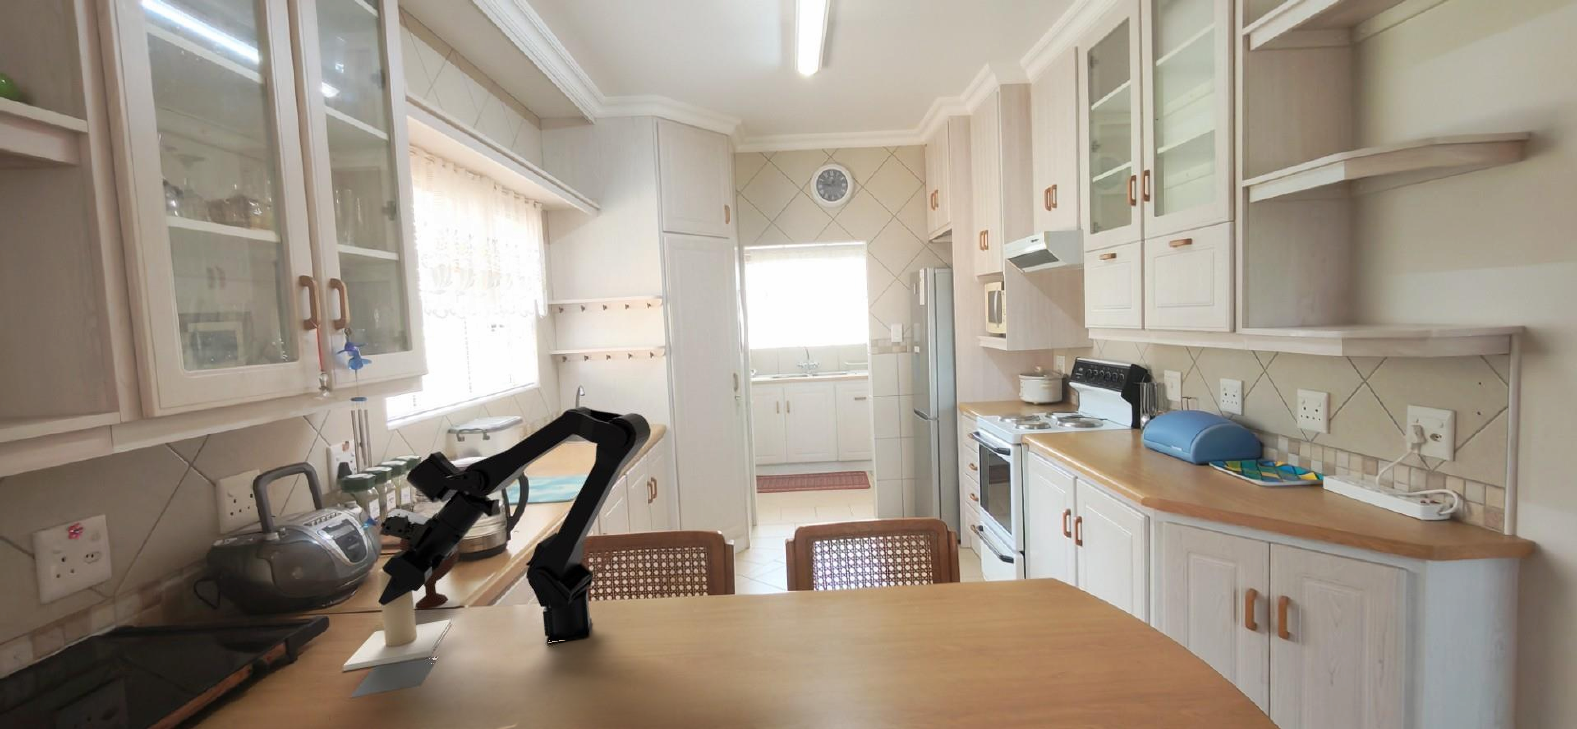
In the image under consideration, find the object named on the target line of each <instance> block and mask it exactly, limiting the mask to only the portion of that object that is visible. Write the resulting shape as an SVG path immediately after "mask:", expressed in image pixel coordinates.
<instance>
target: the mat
mask: <svg viewBox="0 0 1577 729" xmlns="http://www.w3.org/2000/svg"><path fill="white" fill-rule="evenodd" d="M435 656H436V657H435V658H437V656H438V655H435ZM429 658H430V659H429ZM432 658H434V656H428V657H422V658H416V659H411V660H405V661H399V662H393V663H387V664H381V665H376V666H374V668H373V669H372V670H371V671H370V672H369V674H367V676H366V677H365V679H363V681H361V683H360V684H359V685H358V686H357V688H356V689H355V691H354V692H353V693H352V694H351V695H350V696H349V699H351V698H352V699H353V698H356V697H363V696H368V695H373V694H374V695H375V694H380V693H385V692H386V693H387V692H391V691H397V690H401V689H407V688H413V687H418V686H419V687H420V686H421V685H422V684H423V682H424V681H425V679H426V677H427V676H428V674H429V673H430V672H431V670H432V669H433V667H434V665H435V664H433V663H436V662H437V661H436V660H433V659H432ZM431 663H432V664H431Z"/></svg>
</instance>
